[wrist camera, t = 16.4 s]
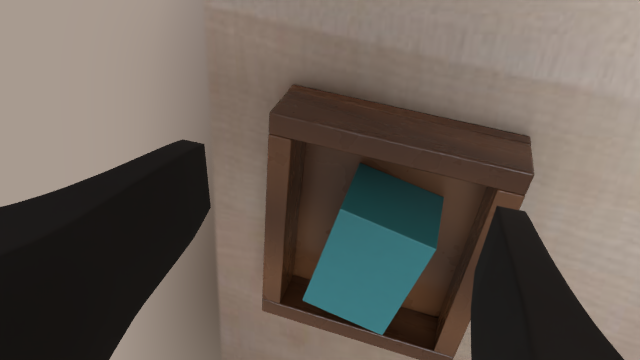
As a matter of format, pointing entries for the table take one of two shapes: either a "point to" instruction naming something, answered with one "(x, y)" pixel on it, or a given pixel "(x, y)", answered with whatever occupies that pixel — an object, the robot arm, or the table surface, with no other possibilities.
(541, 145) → the table surface
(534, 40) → the table surface
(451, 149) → the holder
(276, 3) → the table surface
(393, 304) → the teal rectangular block
